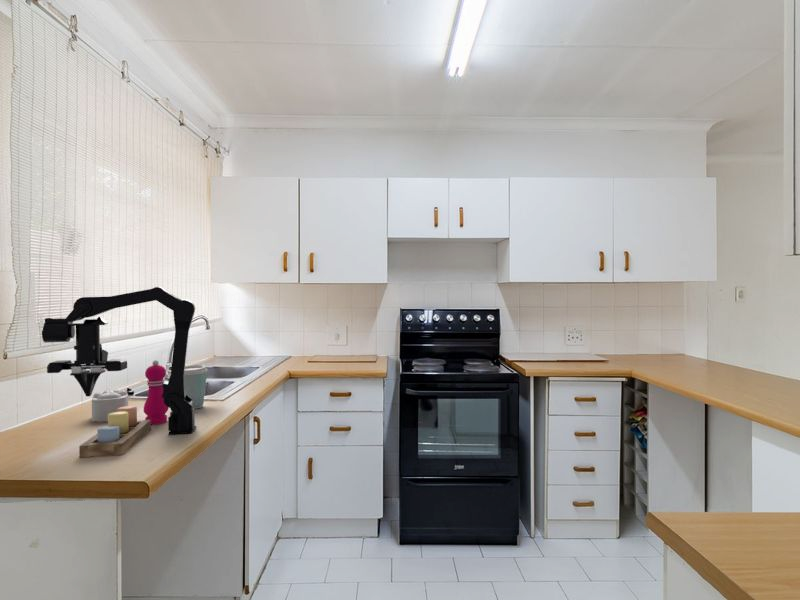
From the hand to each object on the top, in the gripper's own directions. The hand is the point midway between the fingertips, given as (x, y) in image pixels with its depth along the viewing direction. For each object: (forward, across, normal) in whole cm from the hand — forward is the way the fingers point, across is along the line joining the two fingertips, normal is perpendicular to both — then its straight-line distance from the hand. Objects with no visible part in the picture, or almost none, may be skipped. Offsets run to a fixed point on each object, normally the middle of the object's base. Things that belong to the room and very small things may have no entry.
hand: (88, 396), depth 140 cm
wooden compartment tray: (+12, -9, +4) cm, 16 cm away
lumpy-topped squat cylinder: (+13, +4, -28) cm, 31 cm away
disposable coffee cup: (+13, -20, -36) cm, 43 cm away
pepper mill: (+13, -13, -17) cm, 25 cm away
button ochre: (+10, -9, +4) cm, 14 cm away
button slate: (+12, -9, +11) cm, 18 cm away
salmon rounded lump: (+10, -9, -3) cm, 13 cm away
